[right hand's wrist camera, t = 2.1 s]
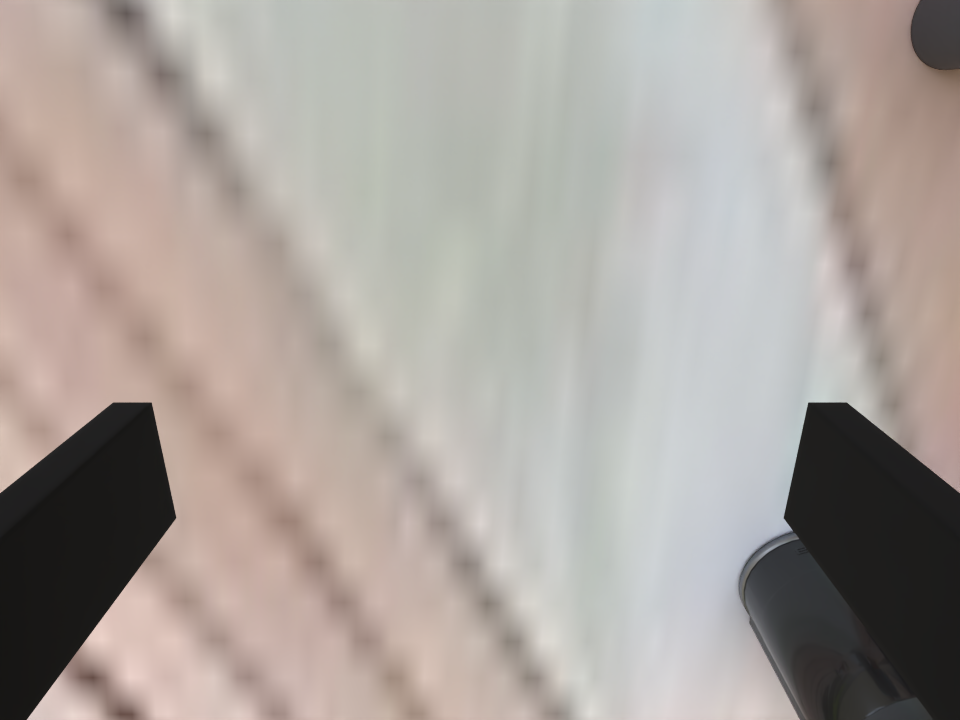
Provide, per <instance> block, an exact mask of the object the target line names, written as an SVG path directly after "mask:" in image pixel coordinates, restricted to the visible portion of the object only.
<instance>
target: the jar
mask: <svg viewBox="0 0 960 720" xmlns="http://www.w3.org/2000/svg"><path fill="white" fill-rule="evenodd" d="M911 38H912V43H913V47H914V50H915V52H916V54H917V55H918V57H919V58H920V59H921V60H922V61H923V62H924V63H925V64H927V65H928V66H930V67H933V68H935V69H940V70H951V69H960V0H921V1H920V3H919V5H918V7H917V9H916V11H915V14H914V17H913V21H912V27H911Z"/></svg>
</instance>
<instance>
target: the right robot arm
mask: <svg viewBox="0 0 960 720" xmlns="http://www.w3.org/2000/svg"><path fill="white" fill-rule="evenodd" d="M175 519H176V515H175V510H174V505H173V500H172V496H171V491H170V486H169V482H168V477H167V472H166V468H165V463H164V458H163V454H162V449H161V444H160V440H159V435H158V430H157V426H156V421H155V416H154V411H153V407H152V403H112V404H111V405H110V406H108V407H107V408H106V409H105V410H103V411H102V412H101V413H100V414H98V415H97V416H96V417H95V418H94V419H92V420H91V421H90V422H89V423H87V424H86V425H85V426H84V427H82V428H81V429H80V430H79V431H77V432H76V433H75V434H74V435H72V436H71V437H70V438H69V439H67V440H66V441H65V442H64V443H62V444H61V445H60V446H59V447H57V448H56V449H55V450H54V451H52V452H51V453H50V454H49V455H47V456H46V457H45V458H44V459H42V460H41V461H40V462H39V463H37V464H36V465H35V466H34V467H32V468H31V469H30V470H29V471H27V472H26V473H25V474H24V475H22V476H21V477H20V478H19V479H18V480H16V481H15V482H14V483H13V484H11V485H10V486H9V487H8V488H6V489H5V490H4V491H3V492H1V493H0V720H27V719H28V717H29V716H30V714H31V713H32V712H33V710H34V709H35V708H36V706H37V705H38V704H39V702H40V701H41V700H42V698H43V697H44V696H45V694H46V693H47V692H48V690H49V689H50V688H51V686H52V685H53V683H54V682H55V681H56V679H57V678H58V677H59V675H60V674H61V673H62V671H63V670H64V669H65V667H66V666H67V665H68V663H69V662H70V661H71V659H72V658H73V657H74V655H75V654H76V652H77V651H78V650H79V648H80V647H81V646H82V644H83V643H84V642H85V640H86V639H87V638H88V636H89V635H90V634H91V632H92V631H93V630H94V628H95V627H96V625H97V624H98V623H99V621H100V620H101V619H102V617H103V616H104V615H105V613H106V612H107V611H108V609H109V608H110V607H111V605H112V604H113V603H114V601H115V600H116V599H117V597H118V596H119V594H120V593H121V592H122V590H123V589H124V588H125V586H126V585H127V584H128V582H129V581H130V580H131V578H132V577H133V576H134V574H135V573H136V572H137V570H138V569H139V567H140V566H141V565H142V563H143V562H144V561H145V559H146V558H147V557H148V555H149V554H150V553H151V551H152V550H153V549H154V547H155V546H156V545H157V543H158V542H159V541H160V539H161V538H162V536H163V535H164V534H165V532H166V531H167V530H168V528H169V527H170V526H171V524H172V523H173V522H174V520H175ZM784 519H785V520H786V522H787V523H788V524H789V526H790V527H791V528H792V530H793V531H794V532H795V534H796V535H797V536H798V538H799V539H800V541H801V542H802V543H803V545H804V546H805V547H806V549H807V550H808V551H809V553H810V554H811V555H812V557H813V558H814V559H815V561H816V562H817V563H818V565H819V566H820V567H821V569H822V570H823V572H824V573H825V574H826V576H827V577H828V578H829V580H830V581H831V582H832V584H833V585H834V586H835V588H836V589H837V590H838V592H839V593H840V594H841V596H842V597H843V599H844V600H845V601H846V603H847V604H848V605H849V607H850V608H851V609H852V611H853V612H854V613H855V615H856V616H857V617H858V619H859V620H860V621H861V623H862V624H863V625H864V627H865V628H866V630H867V631H868V632H869V634H870V635H871V636H872V638H873V639H874V640H875V642H876V643H877V644H878V646H879V647H880V648H881V650H882V651H883V652H884V654H885V655H886V657H887V658H888V659H889V661H890V662H891V663H892V665H893V666H894V667H895V669H896V670H897V671H898V673H899V674H900V675H901V677H902V678H903V679H904V681H905V682H906V683H907V685H908V686H909V688H910V689H911V690H912V692H913V693H914V694H915V696H916V697H917V698H918V700H919V701H920V702H921V704H922V705H923V706H924V708H925V709H926V710H927V712H928V713H929V714H930V716H931V717H932V719H933V720H960V493H959V492H957V491H956V490H955V489H954V488H952V487H951V486H950V485H949V484H947V483H946V482H945V481H944V480H942V479H941V478H940V477H939V476H938V475H936V474H935V473H934V472H933V471H931V470H930V469H929V468H928V467H926V466H925V465H924V464H923V463H921V462H920V461H919V460H918V459H916V458H915V457H914V456H913V455H911V454H910V453H909V452H908V451H906V450H905V449H904V448H903V447H901V446H900V445H899V444H898V443H896V442H895V441H894V440H893V439H891V438H890V437H889V436H888V435H886V434H885V433H884V432H883V431H881V430H880V429H879V428H878V427H876V426H875V425H874V424H873V423H871V422H870V421H869V420H868V419H866V418H865V417H864V416H863V415H862V414H860V413H859V412H858V411H857V410H855V409H854V408H853V407H852V406H850V405H849V404H848V403H808V407H807V411H806V416H805V421H804V426H803V430H802V435H801V440H800V444H799V449H798V454H797V458H796V463H795V468H794V472H793V477H792V482H791V486H790V491H789V496H788V500H787V505H786V510H785V515H784Z"/></svg>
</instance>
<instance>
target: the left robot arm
mask: <svg viewBox="0 0 960 720" xmlns="http://www.w3.org/2000/svg"><path fill="white" fill-rule="evenodd" d="M739 594H740V598H741V601H742V603H743V605H744V607H745V609H746V611H747V613H748V614H749V615H750V617H751V619H750V625H751V627H752V629H753V631H754V633H755V635H756V637H757V639H758V640H759V642H760V644H761V646H762V648H763V650H764V652H765V654H766V656H767V658H768V660H769V661H770V663H771V665H772V667H773V669H774V671H775V673H776V675H777V677H778V679H779V681H780V683H781V684H782V686H783V688H784V690H785V692H786V694H787V696H788V698H789V700H790V702H791V704H792V705H793V707H794V709H795V711H796V713H797V715H798V717H799V719H800V720H933V719H932V717H931V716H930V714H929V713H928V712H927V710H926V709H925V708H924V706H923V705H922V704H921V702H920V701H919V700H918V698H917V697H916V696H915V694H914V693H913V692H912V690H911V689H910V688H909V686H908V685H907V683H906V682H905V681H904V679H903V678H902V677H901V675H900V674H899V673H898V671H897V670H896V669H895V667H894V666H893V665H892V663H891V662H890V661H889V659H888V658H887V657H886V655H885V654H884V652H883V651H882V650H881V648H880V647H879V646H878V644H877V643H876V642H875V640H874V639H873V638H872V636H871V635H870V634H869V632H868V631H867V630H866V628H865V627H864V625H863V624H862V623H861V621H860V620H859V619H858V617H857V616H856V615H855V613H854V612H853V611H852V609H851V608H850V607H849V605H848V604H847V603H846V601H845V600H844V599H843V597H842V596H841V594H840V593H839V592H838V590H837V589H836V588H835V586H834V585H833V584H832V582H831V581H830V580H829V578H828V577H827V576H826V574H825V573H824V572H823V570H822V569H821V567H820V566H819V565H818V563H817V562H816V561H815V559H814V558H813V557H812V555H811V554H810V553H809V551H808V550H807V549H806V547H805V546H804V545H803V543H802V542H801V541H800V539H799V538H798V536H797V535H796V534H795V532H794V533H790V534H787V535H784V536H782V537H779V538H777V539H775V540H773V541H771V542H769V543H768V544H766V545H765V546H763V547H762V548H761V549H760V550H758V551H757V552H756V553H755V554H754V555H753V556H752V558H751V559H750V560H749V561H748V563H747V564H746V566H745V568H744V570H743V572H742V574H741V578H740V582H739Z"/></svg>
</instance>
